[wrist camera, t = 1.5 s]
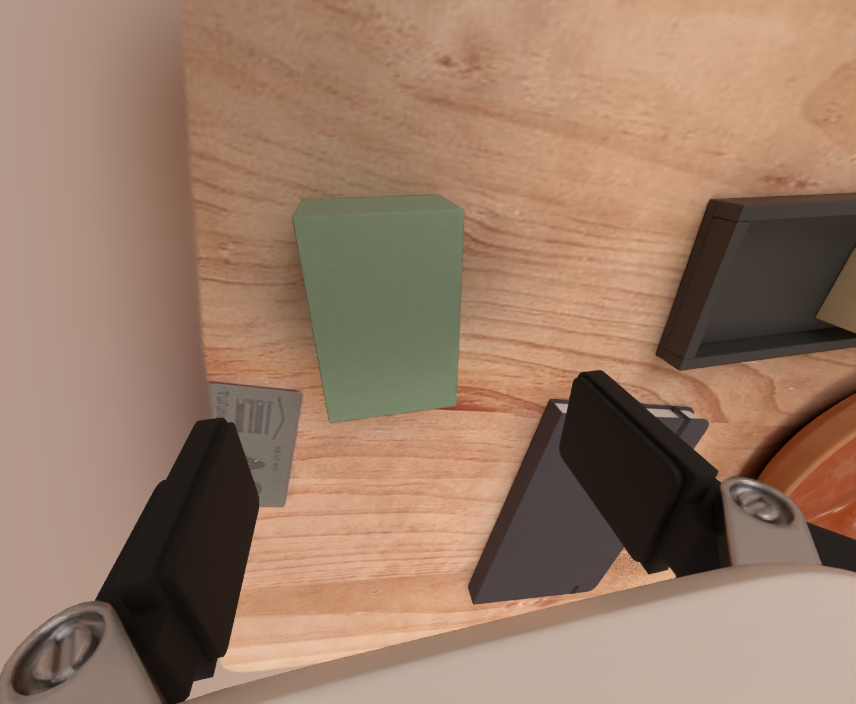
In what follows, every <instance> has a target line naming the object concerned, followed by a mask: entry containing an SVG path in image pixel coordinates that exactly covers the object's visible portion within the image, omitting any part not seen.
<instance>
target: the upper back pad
mask: <svg viewBox="0 0 856 704" xmlns="http://www.w3.org/2000/svg"><path fill="white" fill-rule="evenodd" d="M815 318H817V319H820V320H822V321H825V322H828V323H830V324H833V325H835V326H838V327H841V328H843V329H846V330H848V331H851V332H854V333H856V246H855V248H854V249H853V251H852V253H851V255H850V257H849V258H848V260H847V262H846V264H845V265H844V267H843V269H842V271H841V272H840V274H839V276H838V278H837V280H836V281H835V283H834V285H833V287H832V288H831V290H830V292H829V294H828V295H827V297H826V299H825V301H824V303H823V304H822V306H821V308H820V310H819V311H818V313H817V315H816V317H815Z"/></svg>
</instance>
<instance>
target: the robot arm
mask: <svg viewBox="0 0 856 704" xmlns="http://www.w3.org/2000/svg"><path fill="white" fill-rule="evenodd" d="M559 452H560V455H561V458H562V459H563V461H564V462H565V464H566V465H567V466H568V468H569V469H570V471H571V472H572V474H573V475H574V476H575V478H576V479H577V481H578V482H579V483H580V485H581V486H582V488H583V489H584V491H585V492H586V493H587V495H588V496H589V498H590V499H591V501H592V502H593V503H594V505H595V506H596V508H597V509H598V511H599V512H600V513H601V515H602V516H603V518H604V519H605V520H606V522H607V523H608V525H609V526H610V528H611V529H612V530H613V532H614V533H615V535H616V536H617V538H618V539H619V540H620V542H621V543H622V545H623V546H624V548H625V549H626V550H627V552H628V553H629V555H630V556H631V557H632V558H633V559H634V560H635V561H637V562H640V563H641V564H642V566H643V567H644V569H645V570H646V571H647V573H648V574H652V573H657V572H661V571H665V570H668V568H669V567H670V568H671V570H672V571H673V572H674V573H675V575H676V578H674V579H670V580H665V581H661V582H657V583H652V584H648V585H644V586H639V587H635V588H631V589H627V590H622V591H618V592H614V593H610V594H605V595H601V596H597V597H592V598H588V599H584V600H580V601H575V602H571V603H567V604H563V605H559V606H554V607H550V608H546V609H542V610H538V611H534V612H529V613H525V614H521V615H517V616H513V617H508V618H504V619H500V620H496V621H492V622H488V623H484V624H479V625H475V626H471V627H467V628H463V629H459V630H454V631H450V632H446V633H442V634H438V635H434V636H430V637H426V638H422V639H418V640H413V641H409V642H405V643H401V644H397V645H393V646H389V647H385V648H381V649H377V650H373V651H369V652H365V653H361V654H357V655H352V656H348V657H344V658H340V659H336V660H332V661H328V662H324V663H320V664H316V665H312V666H308V667H304V668H300V669H297V670H293V671H289V672H286V673H282V674H278V675H274V676H270V677H267V678H263V679H259V680H256V681H251V682H248V683H244V684H240V685H237V686H233V687H229V688H225V689H222V690H219V691H215V692H212V693H209V694H206V695H203V696H200V697H197V698H193V699H190V700H187V701H185V700H186V699H187V698H188V697H189V695H190V692H191V688H192V684H193V681H198V680H202V679H206V678H210V677H213V675H214V671H215V667H216V662H217V659H218V658H220V657H224V655H225V654H226V652H227V649H228V645H229V641H230V636H231V632H232V627H233V623H234V618H235V614H236V609H237V605H238V600H239V596H240V591H241V587H242V582H243V578H244V574H245V569H246V565H247V560H248V556H249V551H250V547H251V542H252V538H253V533H254V529H255V524H256V520H257V515H258V511H259V496H258V492H257V489H256V486H255V483H254V480H253V477H252V474H251V471H250V468H249V465H248V462H247V459H246V456H245V453H244V451H243V448H242V445H241V442H240V439H239V436H238V433H237V430H236V427H235V424H234V423H232V422H230V423H227V421H226V420H225V419H224V418H215V419H207V420H201V421H197V422H196V423H195V425H194V427H193V429H192V431H191V432H190V434H189V436H188V439H187V440H186V442H185V444H184V446H183V448H182V450H181V452H180V454H179V456H178V458H177V460H176V461H175V463H174V465H173V467H172V469H171V471H170V473H169V475H168V477H167V479H166V480H163V481H162V482H160V483H159V484H158V485H157V487H156V488H155V489H154V491H153V493H152V495H151V497H150V499H149V501H148V503H147V504H146V506H145V508H144V510H143V512H142V514H141V515H140V517H139V519H138V521H137V523H136V525H135V527H134V529H133V530H132V532H131V534H130V536H129V538H128V540H127V542H126V544H125V545H124V547H123V549H122V551H121V553H120V555H119V556H118V558H117V560H116V562H115V564H114V566H113V568H112V569H111V571H110V573H109V575H108V577H107V579H106V581H105V582H104V584H103V586H102V588H101V590H100V592H99V594H98V596H97V597H96V599H95V601H90V602H83V603H80V604H78V605H75V606H72V607H69V608H67V609H65V610H63V611H62V612H60V613H58V614H57V615H55V616H53V617H51V618H50V619H48V620H47V621H46V622H44V623H43V624H42V625H40V626H39V627H38V628H37V629H35V630H34V631H33V632H32V633H31V634H30V635H29V636H28V637H27V638H26V639H25V640H24V641H23V642H22V643H21V644H20V645H19V646H18V647H17V648H16V650H15V651H14V652H13V654H12V655H11V657H10V658H9V660H8V661H7V662H6V664H5V665H4V668H3V670H2V672H1V674H0V704H856V540H855V539H853V538H850V537H847V536H844V535H842V534H839V533H836V532H833V531H831V530H828V529H825V528H822V527H820V526H817V525H814V524H811V523H809V522H806V521H805V518H804V515H803V514H802V512H801V510H800V509H799V507H798V506H797V505H796V504H795V503H794V502H793V501H792V500H791V499H790V498H789V497H787V496H786V495H784V494H783V493H782V492H780V491H779V490H777V489H775V488H773V487H771V486H770V485H768V484H765V483H763V482H760V481H758V480H755V479H750V478H746V477H731V478H727V479H725V480H724V481H723V482H722V483H721V482H719V481H718V480H717V479H716V478H715V477H716V475H717V473H718V470H717V469H716V468H714V467H713V466H712V465H711V464H710V463H709V462H707V461H706V460H705V459H704V458H703V457H702V456H701V455H699V454H698V453H697V452H696V451H695V450H694V449H692V448H691V447H690V446H689V445H688V444H687V443H686V442H684V441H683V440H682V439H681V438H680V437H679V436H677V435H676V434H675V433H674V432H673V431H672V430H671V429H669V428H668V427H667V426H666V425H665V424H664V423H662V422H661V421H660V420H659V419H658V418H657V417H656V416H654V415H653V414H652V413H651V412H650V411H649V410H647V409H646V408H645V407H644V406H643V405H642V404H641V403H639V402H638V401H637V400H636V399H635V398H634V397H632V396H631V395H630V394H629V393H628V392H627V391H626V390H624V389H623V388H622V387H621V386H620V385H619V384H617V383H616V382H615V381H614V380H613V379H612V378H611V377H609V376H608V375H607V374H606V373H605V372H603V371H602V370H596V371H588V372H582V373H580V374H579V375H578V378H575V379H574V381H573V384H572V389H571V394H570V398H569V403H568V407H567V412H566V417H565V421H564V426H563V430H562V435H561V440H560V444H559Z"/></svg>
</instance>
